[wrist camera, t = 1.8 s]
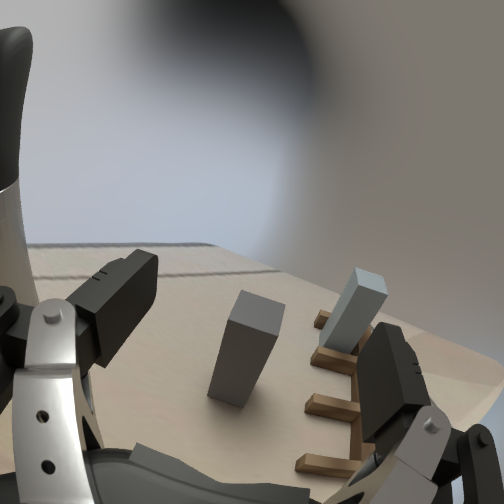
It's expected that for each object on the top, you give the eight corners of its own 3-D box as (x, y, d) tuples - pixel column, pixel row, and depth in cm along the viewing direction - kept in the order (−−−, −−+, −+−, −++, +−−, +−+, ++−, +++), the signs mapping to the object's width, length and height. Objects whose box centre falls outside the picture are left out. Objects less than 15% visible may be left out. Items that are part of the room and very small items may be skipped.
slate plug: (318, 353, 36) (358, 284, 30) (319, 334, 40) (355, 267, 34) (344, 360, 36) (388, 294, 30) (344, 341, 39) (382, 276, 33)
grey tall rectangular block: (207, 395, 27) (227, 319, 21) (218, 368, 30) (241, 289, 25) (243, 408, 27) (278, 336, 21) (251, 380, 30) (285, 304, 24)
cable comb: (294, 470, 21) (304, 463, 20) (314, 321, 42) (320, 309, 40) (367, 479, 20) (380, 472, 19) (362, 336, 41) (370, 325, 40)
